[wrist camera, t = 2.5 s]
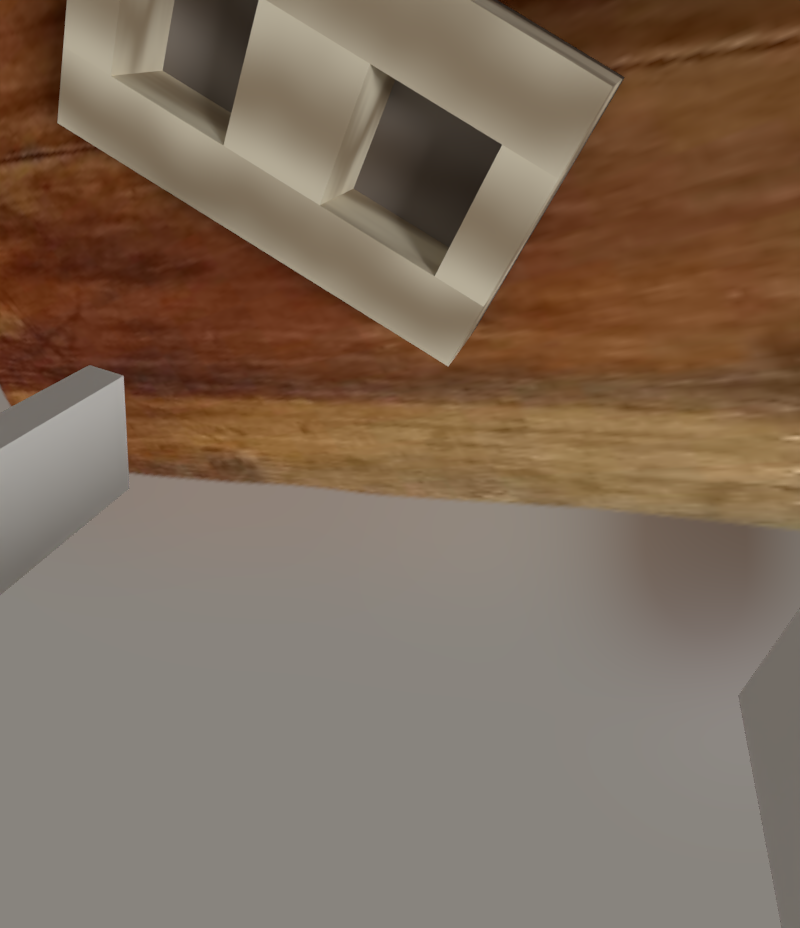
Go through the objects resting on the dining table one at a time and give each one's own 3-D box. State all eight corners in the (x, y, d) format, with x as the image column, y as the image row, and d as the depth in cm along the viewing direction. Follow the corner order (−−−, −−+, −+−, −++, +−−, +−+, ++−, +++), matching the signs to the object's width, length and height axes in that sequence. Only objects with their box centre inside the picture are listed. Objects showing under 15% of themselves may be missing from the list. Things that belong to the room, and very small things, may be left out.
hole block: (165, -201, 30) (85, -234, 26) (624, 77, 29) (612, 86, 25) (122, 112, 39) (57, 122, 35) (474, 330, 38) (448, 366, 34)
